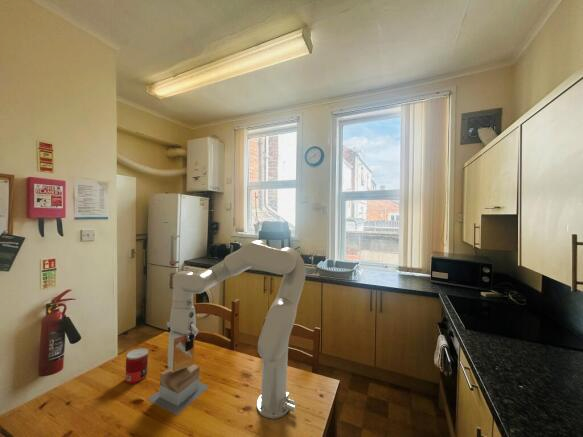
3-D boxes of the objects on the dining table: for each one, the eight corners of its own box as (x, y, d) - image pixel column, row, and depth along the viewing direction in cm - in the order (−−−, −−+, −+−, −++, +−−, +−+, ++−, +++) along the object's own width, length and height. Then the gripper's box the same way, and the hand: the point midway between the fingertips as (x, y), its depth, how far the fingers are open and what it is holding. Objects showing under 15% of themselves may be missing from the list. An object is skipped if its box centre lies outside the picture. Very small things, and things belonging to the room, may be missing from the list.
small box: (172, 373, 88) (173, 339, 88) (167, 365, 93) (168, 332, 93) (194, 365, 94) (195, 332, 94) (188, 358, 98) (189, 326, 98)
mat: (209, 387, 97) (209, 386, 97) (176, 416, 82) (176, 415, 82) (182, 376, 104) (182, 374, 104) (146, 400, 89) (146, 399, 89)
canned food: (145, 382, 99) (146, 356, 99) (122, 386, 96) (123, 359, 96) (148, 371, 106) (149, 346, 106) (127, 374, 103) (128, 349, 103)
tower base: (198, 388, 95) (199, 377, 95) (177, 406, 86) (178, 393, 86) (181, 381, 100) (181, 370, 100) (159, 396, 90) (159, 385, 91)
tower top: (199, 377, 95) (199, 366, 95) (178, 393, 86) (178, 381, 86) (181, 370, 100) (182, 359, 100) (159, 385, 91) (160, 373, 91)
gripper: (206, 303, 93) (204, 348, 93) (175, 296, 100) (174, 337, 100) (191, 310, 86) (189, 357, 86) (159, 301, 94) (157, 345, 93)
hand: (181, 346), depth 93 cm, fingers closed on small box, 8 cm apart
